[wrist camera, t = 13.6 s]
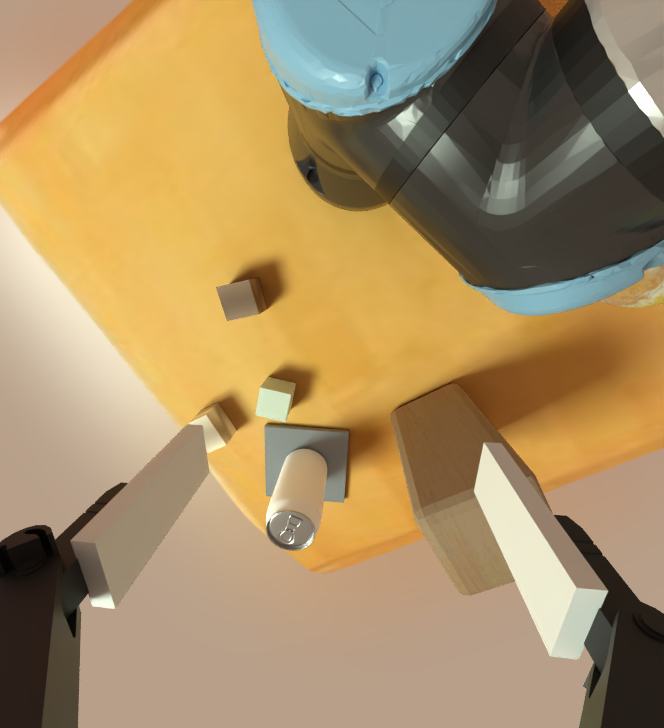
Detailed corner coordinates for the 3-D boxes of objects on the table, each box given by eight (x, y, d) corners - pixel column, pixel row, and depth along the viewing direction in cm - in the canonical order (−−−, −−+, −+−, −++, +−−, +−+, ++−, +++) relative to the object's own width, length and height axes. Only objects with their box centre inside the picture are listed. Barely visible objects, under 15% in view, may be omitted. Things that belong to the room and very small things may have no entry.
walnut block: (229, 284, 41) (216, 287, 37) (258, 277, 40) (248, 279, 36) (238, 315, 42) (227, 321, 38) (267, 309, 41) (258, 313, 38)
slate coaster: (266, 423, 46) (264, 426, 46) (349, 430, 46) (348, 433, 45) (267, 492, 50) (266, 496, 49) (344, 498, 49) (343, 502, 49)
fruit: (609, 182, 35) (706, 152, 25) (666, 253, 36) (777, 250, 27) (530, 256, 37) (590, 254, 28) (586, 318, 39) (661, 337, 30)
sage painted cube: (268, 376, 44) (260, 387, 40) (296, 383, 44) (291, 394, 40) (263, 402, 45) (255, 414, 42) (291, 408, 45) (285, 422, 42)
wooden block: (418, 465, 47) (462, 604, 28) (387, 410, 44) (411, 521, 25) (484, 436, 45) (580, 567, 26) (455, 378, 42) (537, 473, 23)
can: (277, 474, 48) (253, 540, 37) (294, 440, 46) (274, 499, 35) (317, 490, 48) (305, 561, 37) (335, 457, 46) (328, 522, 35)
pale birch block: (201, 410, 46) (187, 423, 43) (218, 402, 46) (205, 414, 42) (220, 437, 48) (208, 453, 44) (236, 430, 47) (226, 445, 43)
